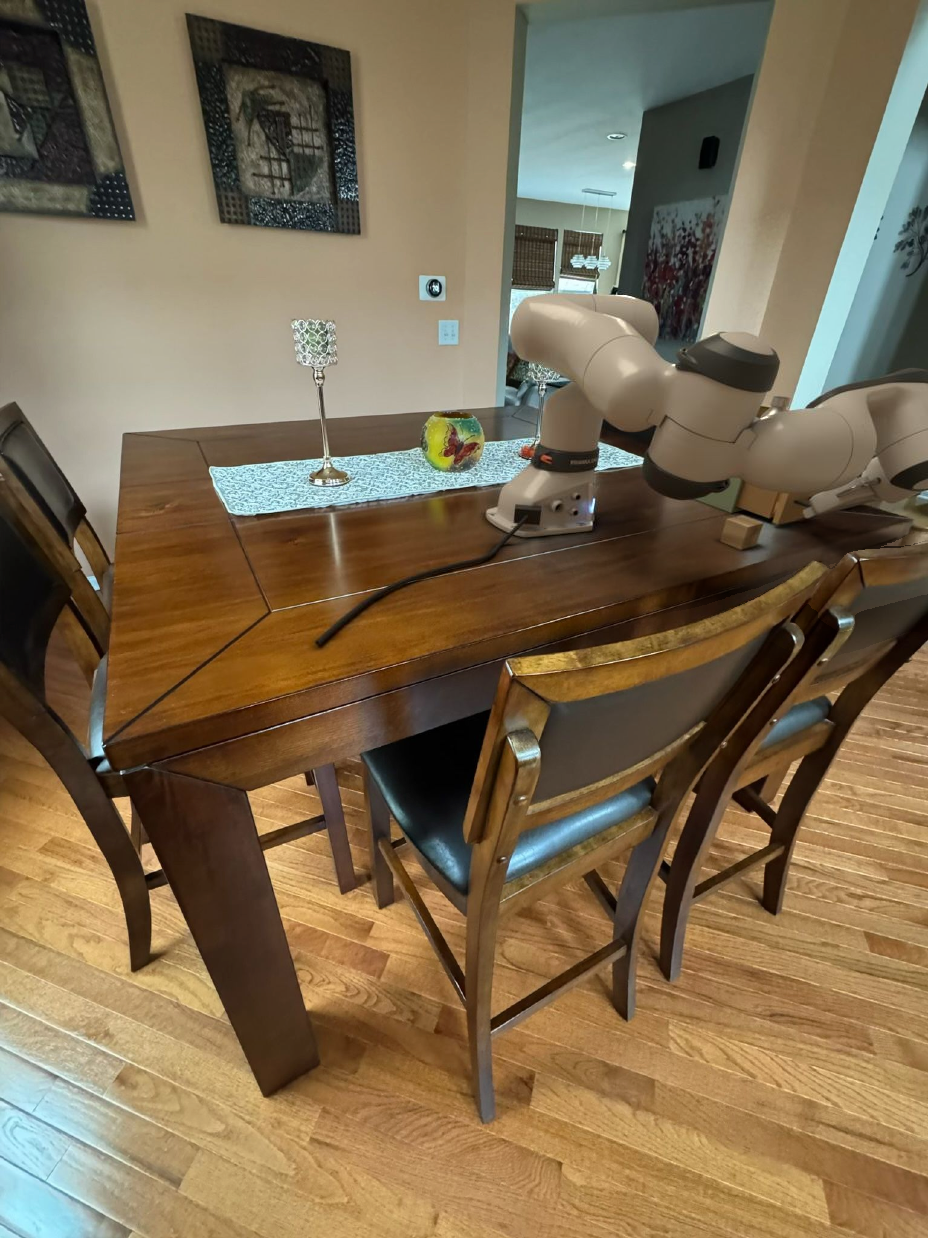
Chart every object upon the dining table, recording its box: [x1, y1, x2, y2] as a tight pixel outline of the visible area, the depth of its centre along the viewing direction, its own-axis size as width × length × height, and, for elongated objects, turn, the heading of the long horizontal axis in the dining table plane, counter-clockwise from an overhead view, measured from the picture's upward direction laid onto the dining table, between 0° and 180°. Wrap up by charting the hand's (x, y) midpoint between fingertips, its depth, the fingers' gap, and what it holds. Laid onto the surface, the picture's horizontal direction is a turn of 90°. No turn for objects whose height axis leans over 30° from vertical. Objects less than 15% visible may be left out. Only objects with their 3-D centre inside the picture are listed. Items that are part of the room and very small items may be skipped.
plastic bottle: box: [759, 395, 791, 418], centre depth 132 cm, size 6×7×20 cm
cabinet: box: [694, 478, 745, 514], centre depth 121 cm, size 15×13×10 cm
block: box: [719, 514, 764, 551], centre depth 100 cm, size 4×4×4 cm
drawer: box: [735, 480, 819, 525], centre depth 111 cm, size 18×11×8 cm, turn 30°
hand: (817, 511), depth 106 cm, fingers closed on drawer, 6 cm apart
